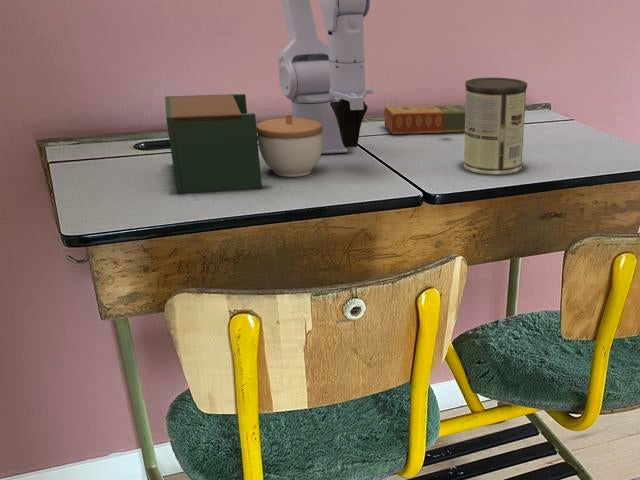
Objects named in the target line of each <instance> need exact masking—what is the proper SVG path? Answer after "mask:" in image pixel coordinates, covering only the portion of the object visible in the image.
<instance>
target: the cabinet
mask: <svg viewBox="0 0 640 480" xmlns="http://www.w3.org/2000/svg"><path fill="white" fill-rule="evenodd" d="M164 102H165V103H164V104H165V118H166V119H165V120H166V126H167V133H168V138H169V146H170V153H171V160H172V161H171V162H172V168H173V174H174V181H175V188H176V194H190V193H191V194H192V193H207V192H208V193H209V192H221V191H222V192H223V191H237V190H254V189H262V188H263V184H262V174H261V173H262V172H261V161H260V149H259V144H258V135H257V128H256V125H257V118H256V113H255V112H249V113H248V108H247V97H246V93H231V94H228V93H227V94H201V95H200V94H198V95H171V96H169V95H168V96H164Z"/></svg>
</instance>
